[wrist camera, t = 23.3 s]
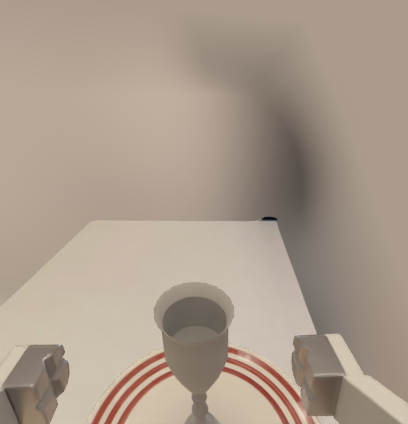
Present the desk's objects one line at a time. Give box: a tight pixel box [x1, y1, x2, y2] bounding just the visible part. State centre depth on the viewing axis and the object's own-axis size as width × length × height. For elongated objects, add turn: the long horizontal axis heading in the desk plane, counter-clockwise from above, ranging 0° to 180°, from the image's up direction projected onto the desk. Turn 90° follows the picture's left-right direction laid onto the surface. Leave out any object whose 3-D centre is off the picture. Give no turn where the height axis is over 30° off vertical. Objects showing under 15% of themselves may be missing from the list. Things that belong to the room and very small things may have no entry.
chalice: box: [154, 282, 234, 424], centre depth 28 cm, size 7×7×18 cm
